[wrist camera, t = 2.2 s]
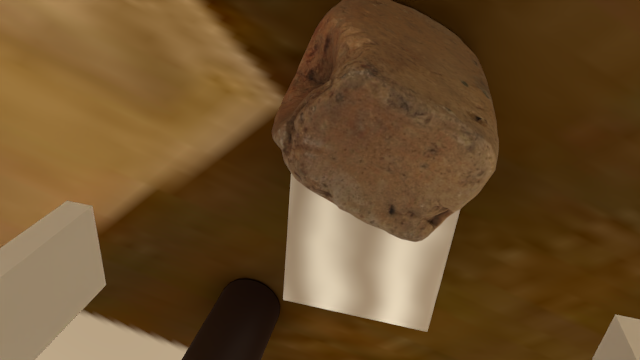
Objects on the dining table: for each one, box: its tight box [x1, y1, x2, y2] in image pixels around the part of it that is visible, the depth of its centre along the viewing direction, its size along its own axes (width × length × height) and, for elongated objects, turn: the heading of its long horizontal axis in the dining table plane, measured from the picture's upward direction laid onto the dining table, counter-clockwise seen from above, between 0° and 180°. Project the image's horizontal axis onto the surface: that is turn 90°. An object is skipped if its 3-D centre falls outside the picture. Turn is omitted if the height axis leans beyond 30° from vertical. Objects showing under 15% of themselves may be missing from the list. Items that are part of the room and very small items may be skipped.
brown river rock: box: [271, 0, 499, 242], centre depth 28 cm, size 11×8×20 cm
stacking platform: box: [283, 174, 460, 332], centre depth 43 cm, size 14×14×4 cm
